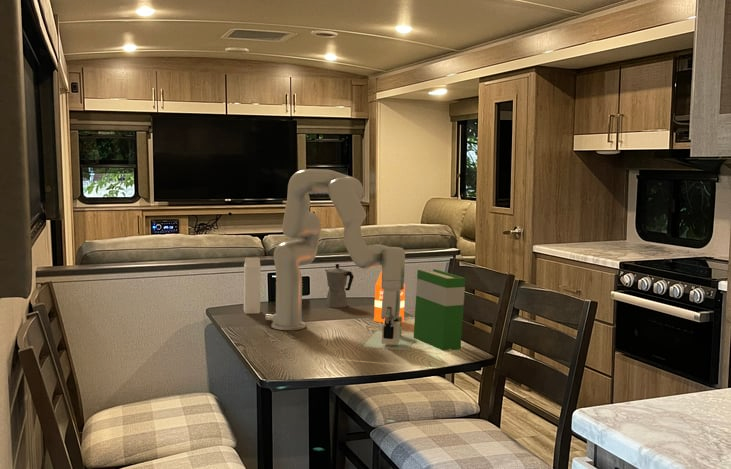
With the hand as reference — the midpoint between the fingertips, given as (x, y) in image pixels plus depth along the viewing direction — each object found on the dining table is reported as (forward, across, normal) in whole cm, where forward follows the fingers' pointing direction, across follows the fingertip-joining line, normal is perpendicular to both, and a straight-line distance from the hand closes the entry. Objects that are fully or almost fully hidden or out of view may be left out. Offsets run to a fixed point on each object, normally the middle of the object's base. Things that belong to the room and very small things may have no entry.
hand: (391, 335), depth 227 cm
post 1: (+3, 0, 0) cm, 3 cm away
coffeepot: (+4, -57, -33) cm, 66 cm away
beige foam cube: (+2, 0, 0) cm, 2 cm away
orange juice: (+4, -35, -7) cm, 36 cm away
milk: (+4, -34, -63) cm, 72 cm away
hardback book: (+4, -8, +14) cm, 17 cm away
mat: (+4, -6, -1) cm, 8 cm away
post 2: (+3, -13, 0) cm, 13 cm away
